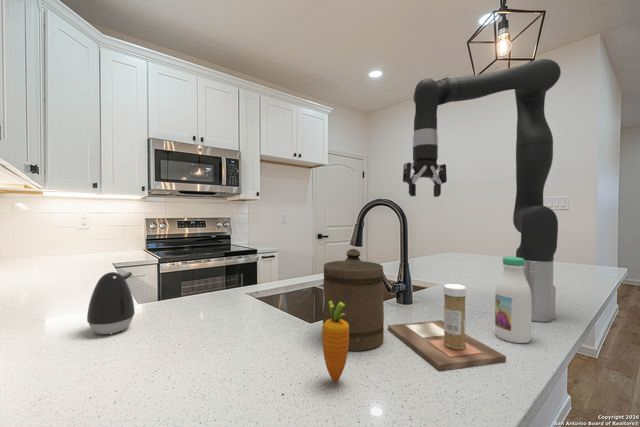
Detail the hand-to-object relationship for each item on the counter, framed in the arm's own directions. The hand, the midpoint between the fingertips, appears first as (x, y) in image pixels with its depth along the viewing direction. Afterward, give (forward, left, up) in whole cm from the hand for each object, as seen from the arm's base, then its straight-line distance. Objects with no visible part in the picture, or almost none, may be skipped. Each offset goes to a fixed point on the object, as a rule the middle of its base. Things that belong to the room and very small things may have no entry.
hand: (424, 196), depth 100 cm
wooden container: (+30, +16, -36) cm, 50 cm away
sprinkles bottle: (+11, +29, -35) cm, 47 cm away
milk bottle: (-9, +25, -36) cm, 45 cm away
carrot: (+40, +34, -36) cm, 64 cm away
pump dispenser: (+89, -3, -36) cm, 96 cm away
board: (+11, +24, -36) cm, 45 cm away
